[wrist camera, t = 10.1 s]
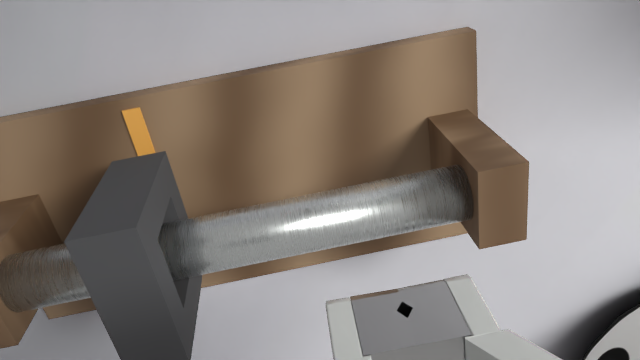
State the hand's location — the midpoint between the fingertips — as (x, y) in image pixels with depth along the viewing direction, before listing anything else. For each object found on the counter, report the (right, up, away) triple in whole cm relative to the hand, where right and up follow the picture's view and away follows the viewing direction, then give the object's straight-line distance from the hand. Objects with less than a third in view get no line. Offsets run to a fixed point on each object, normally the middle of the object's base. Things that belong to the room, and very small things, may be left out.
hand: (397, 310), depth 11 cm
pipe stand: (-6, +3, +16) cm, 17 cm away
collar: (-9, +1, +13) cm, 16 cm away
